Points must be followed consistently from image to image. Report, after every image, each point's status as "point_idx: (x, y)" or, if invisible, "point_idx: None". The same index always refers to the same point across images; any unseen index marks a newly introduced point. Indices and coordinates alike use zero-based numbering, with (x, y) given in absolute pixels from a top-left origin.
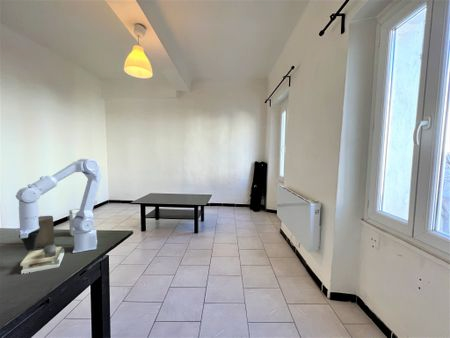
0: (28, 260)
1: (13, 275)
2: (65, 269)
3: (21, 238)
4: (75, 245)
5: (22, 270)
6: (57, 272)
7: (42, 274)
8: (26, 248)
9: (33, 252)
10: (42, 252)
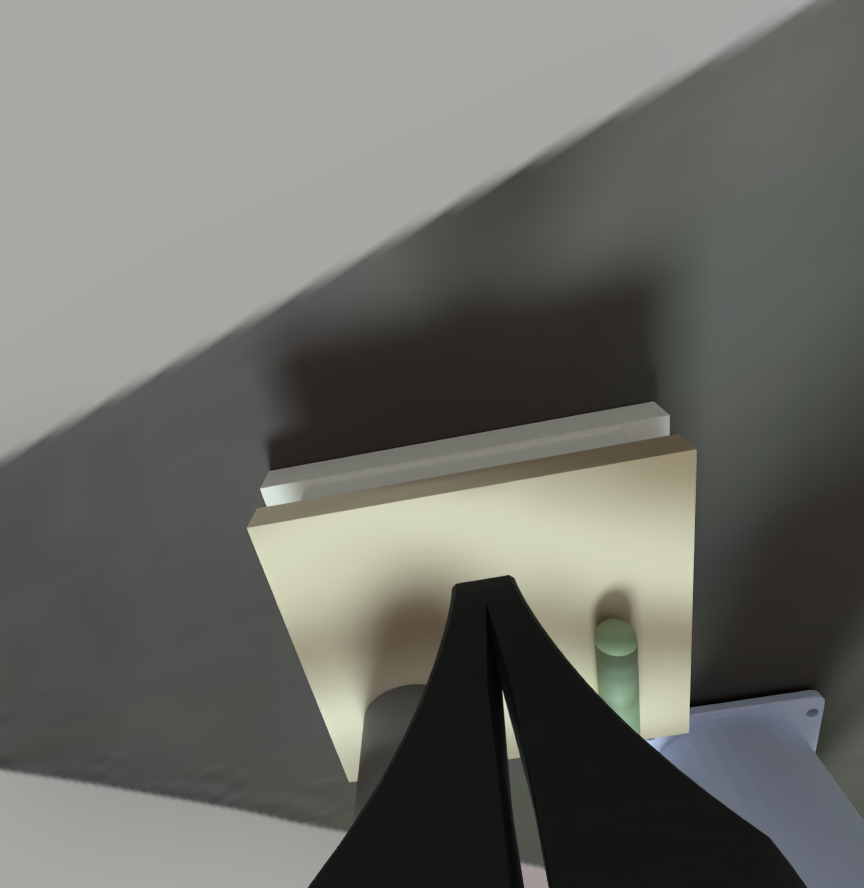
0: (328, 574)
1: (254, 408)
2: (290, 752)
3: (331, 875)
4: (710, 786)
5: (272, 494)
6: (246, 722)
7: (228, 641)
8: (449, 615)
9: (623, 513)
10: (565, 618)
